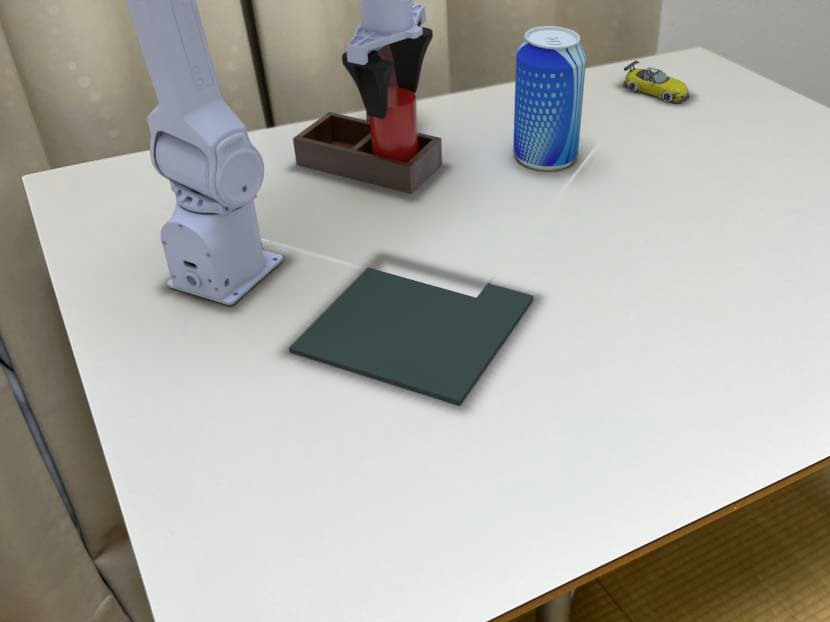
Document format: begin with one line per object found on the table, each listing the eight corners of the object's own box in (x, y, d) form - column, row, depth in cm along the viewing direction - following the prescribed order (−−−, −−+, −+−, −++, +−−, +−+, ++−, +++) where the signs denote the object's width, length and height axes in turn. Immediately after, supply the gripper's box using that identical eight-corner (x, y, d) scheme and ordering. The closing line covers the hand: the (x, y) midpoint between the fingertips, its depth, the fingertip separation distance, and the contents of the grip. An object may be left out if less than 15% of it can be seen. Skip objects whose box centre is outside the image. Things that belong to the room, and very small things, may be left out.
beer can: (501, 165, 114) (503, 39, 103) (531, 139, 120) (537, 18, 109) (559, 182, 112) (568, 55, 101) (588, 156, 117) (599, 33, 106)
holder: (411, 198, 107) (409, 167, 104) (297, 168, 111) (292, 138, 108) (442, 168, 113) (441, 137, 110) (332, 141, 117) (329, 111, 114)
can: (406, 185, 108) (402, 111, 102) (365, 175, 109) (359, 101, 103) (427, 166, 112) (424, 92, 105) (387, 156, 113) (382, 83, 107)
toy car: (678, 106, 130) (681, 86, 128) (618, 88, 134) (621, 68, 132) (693, 94, 133) (696, 75, 131) (634, 77, 137) (637, 58, 135)
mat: (459, 405, 81) (459, 401, 80) (289, 351, 85) (288, 347, 85) (533, 299, 93) (533, 295, 93) (381, 257, 97) (381, 253, 97)
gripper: (384, 9, 90) (393, 135, 99) (447, -31, 100) (450, 87, 109) (323, -4, 91) (337, 122, 100) (392, -42, 101) (398, 76, 110)
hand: (392, 103), depth 105 cm, fingers open, 7 cm apart
